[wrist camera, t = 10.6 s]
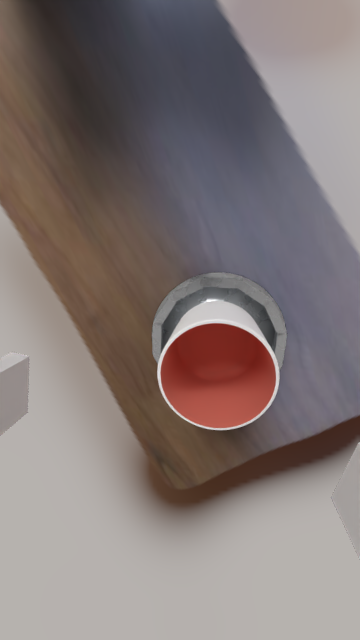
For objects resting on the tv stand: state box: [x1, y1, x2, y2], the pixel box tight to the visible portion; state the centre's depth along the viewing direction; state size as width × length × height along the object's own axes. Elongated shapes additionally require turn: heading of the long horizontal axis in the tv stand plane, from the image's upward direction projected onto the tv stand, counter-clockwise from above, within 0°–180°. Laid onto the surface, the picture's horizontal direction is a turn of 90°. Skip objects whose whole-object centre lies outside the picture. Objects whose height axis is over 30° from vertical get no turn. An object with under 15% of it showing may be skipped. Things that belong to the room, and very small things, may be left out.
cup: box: [157, 301, 280, 430], centre depth 26 cm, size 10×10×10 cm
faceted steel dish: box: [152, 272, 287, 370], centre depth 30 cm, size 16×16×2 cm
